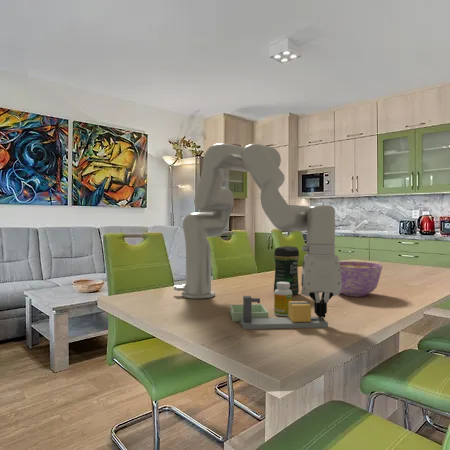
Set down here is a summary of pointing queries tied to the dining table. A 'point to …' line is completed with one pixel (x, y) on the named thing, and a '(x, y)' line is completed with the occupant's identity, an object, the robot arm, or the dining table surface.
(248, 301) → the post
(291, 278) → the coffee jar
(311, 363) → the dining table surface
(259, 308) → the green square tray
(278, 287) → the supplement bottle
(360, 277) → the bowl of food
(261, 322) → the base plate
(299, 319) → the strap block
